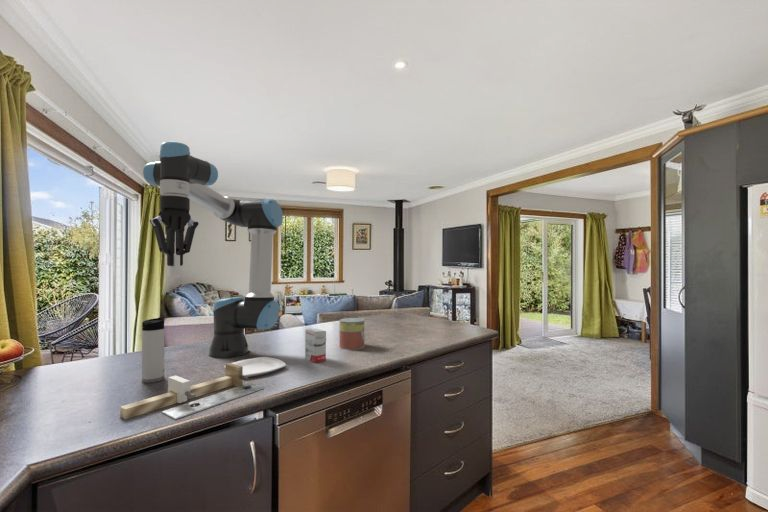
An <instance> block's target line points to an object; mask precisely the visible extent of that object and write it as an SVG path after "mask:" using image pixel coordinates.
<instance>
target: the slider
mask: <svg viewBox="0 0 768 512" xmlns="http://www.w3.org/2000/svg"><path fill="white" fill-rule="evenodd" d="M167 381H168V383H167V384H168V386H167V387H168V388H167V393H169V392H172V391H173V392H175V393H177V402H178V403H177V404H181V403H185V402H187V401H188V400H187V396H188V397H191V399H195V398H196V397H195V394H193V393H191V392H190V386H191V380H188V379H186V378H184V377H181V376H178V375H176V374H175V375H172V376H168V380H167Z"/></svg>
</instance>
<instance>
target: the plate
mask: <svg viewBox="0 0 768 512" xmlns="http://www.w3.org/2000/svg"><path fill="white" fill-rule="evenodd" d="M231 363H232V364H235V365H239V366H242V367H243V376H246V377H248V378H250V377H258V376H262V375H266V374H269V373H273V372H276V371H279V370H280V369H281V368H284V367H287V363H285V362H284V361H283V360H281V359H278V358H274V357H267V356H260V357H259V356H257V357H253V358H246V359H240V360H238V361H234V362H231ZM223 366H224V368H225V364H224V365H223Z"/></svg>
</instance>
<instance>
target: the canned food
mask: <svg viewBox="0 0 768 512" xmlns="http://www.w3.org/2000/svg"><path fill="white" fill-rule="evenodd" d="M339 348H340V350H341V349H342V350H347V351H352V350H353V351H354V350H361V349H364V348H365V319H364V318H361V317H346V318H345V317H344V318H340V319H339Z"/></svg>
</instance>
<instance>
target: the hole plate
mask: <svg viewBox="0 0 768 512" xmlns="http://www.w3.org/2000/svg"><path fill="white" fill-rule="evenodd" d="M264 389H265V387H264V386H262V385H258V384H254V383H252V382H248V383H244V384H243V385H242V386H238V387H236V386H234V387H233V388H230V389H227V390H222V391H220V392H218V393H214V394H211V395H209V396H205V397H203V398H202V397H201V398H199V399H196V400H193V401H190V402H187V403H184V404H181V405H177V406H175V407H171V408H169V409H165V410H162V411H161V413H162V414H163V415H165V416H167V417H169V418H171V419H173V420H179V419H182V418H185V417H187V416H190V415H193V414H196V413H199V412H202V411H204V410H206V409H207V410H208V409H210V408H213V407H215V406H219V405H221V404H224V403H227V402H230V401H233V400H236V399H238V398H239V399H240V397H244V396H246V395H250V394H252V393H256V392H258V391H261V390H264Z"/></svg>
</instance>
